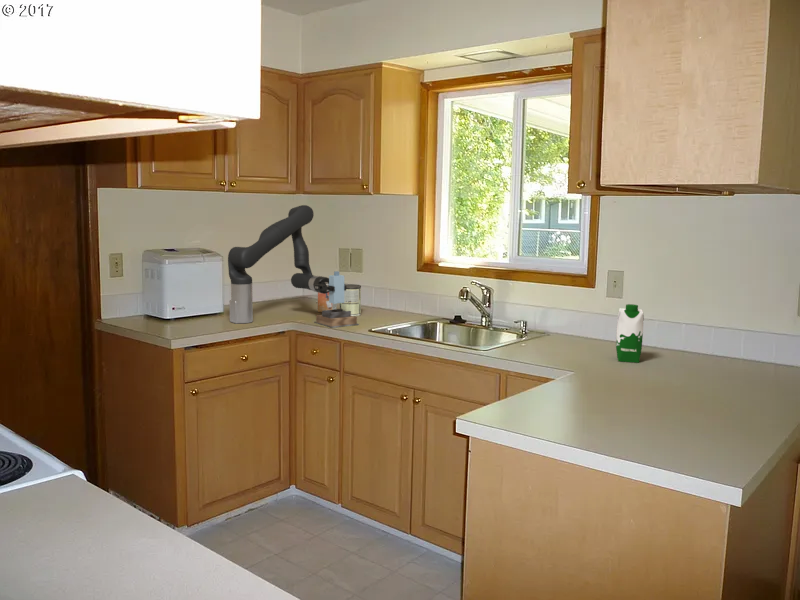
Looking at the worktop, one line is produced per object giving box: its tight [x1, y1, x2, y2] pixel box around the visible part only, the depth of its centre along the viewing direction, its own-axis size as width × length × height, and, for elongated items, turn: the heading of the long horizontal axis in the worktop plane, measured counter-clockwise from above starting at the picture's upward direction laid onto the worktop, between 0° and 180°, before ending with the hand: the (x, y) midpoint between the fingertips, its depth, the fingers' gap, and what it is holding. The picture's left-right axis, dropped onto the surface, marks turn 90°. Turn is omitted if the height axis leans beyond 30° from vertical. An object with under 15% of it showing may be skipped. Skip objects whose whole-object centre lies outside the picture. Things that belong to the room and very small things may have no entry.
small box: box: [317, 292, 338, 313], centre depth 339 cm, size 8×6×10 cm
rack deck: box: [313, 308, 360, 329], centre depth 307 cm, size 14×15×6 cm
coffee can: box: [339, 283, 362, 317], centre depth 332 cm, size 10×10×14 cm
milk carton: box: [615, 303, 645, 364], centre depth 244 cm, size 9×9×20 cm
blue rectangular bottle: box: [328, 270, 345, 304], centre depth 305 cm, size 5×4×14 cm
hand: (339, 288), depth 303 cm, fingers closed on blue rectangular bottle, 5 cm apart
